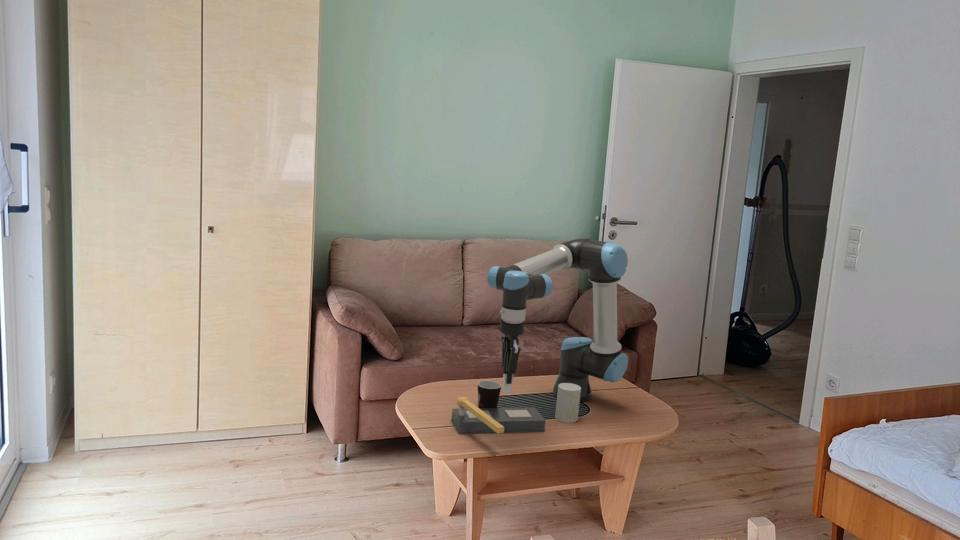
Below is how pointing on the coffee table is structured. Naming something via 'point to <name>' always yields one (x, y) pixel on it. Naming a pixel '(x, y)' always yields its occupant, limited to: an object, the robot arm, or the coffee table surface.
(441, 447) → the coffee table surface
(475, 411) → the bar
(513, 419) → the chassis
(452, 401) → the coffee table surface
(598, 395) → the coffee table surface
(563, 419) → the gray cylinder
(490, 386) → the coffee mug
